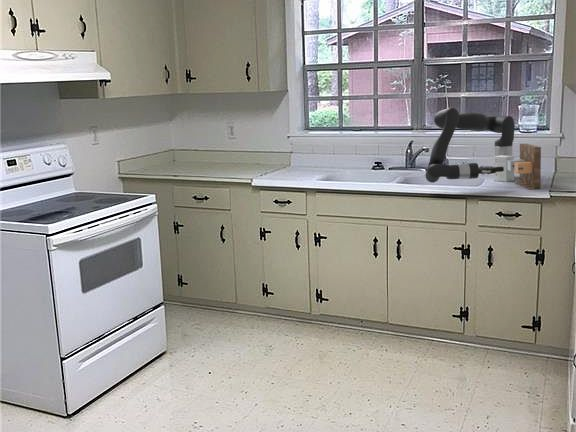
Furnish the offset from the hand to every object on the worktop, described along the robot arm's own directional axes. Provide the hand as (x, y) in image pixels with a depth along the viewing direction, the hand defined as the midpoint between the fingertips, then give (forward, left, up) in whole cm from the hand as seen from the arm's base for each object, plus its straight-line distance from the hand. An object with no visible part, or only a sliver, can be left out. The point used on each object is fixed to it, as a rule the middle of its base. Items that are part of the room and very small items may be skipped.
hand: (503, 168), depth 319 cm
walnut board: (-5, +13, -10) cm, 18 cm away
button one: (-11, +11, -2) cm, 15 cm away
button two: (0, +11, -2) cm, 11 cm away
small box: (-27, +9, -10) cm, 30 cm away
